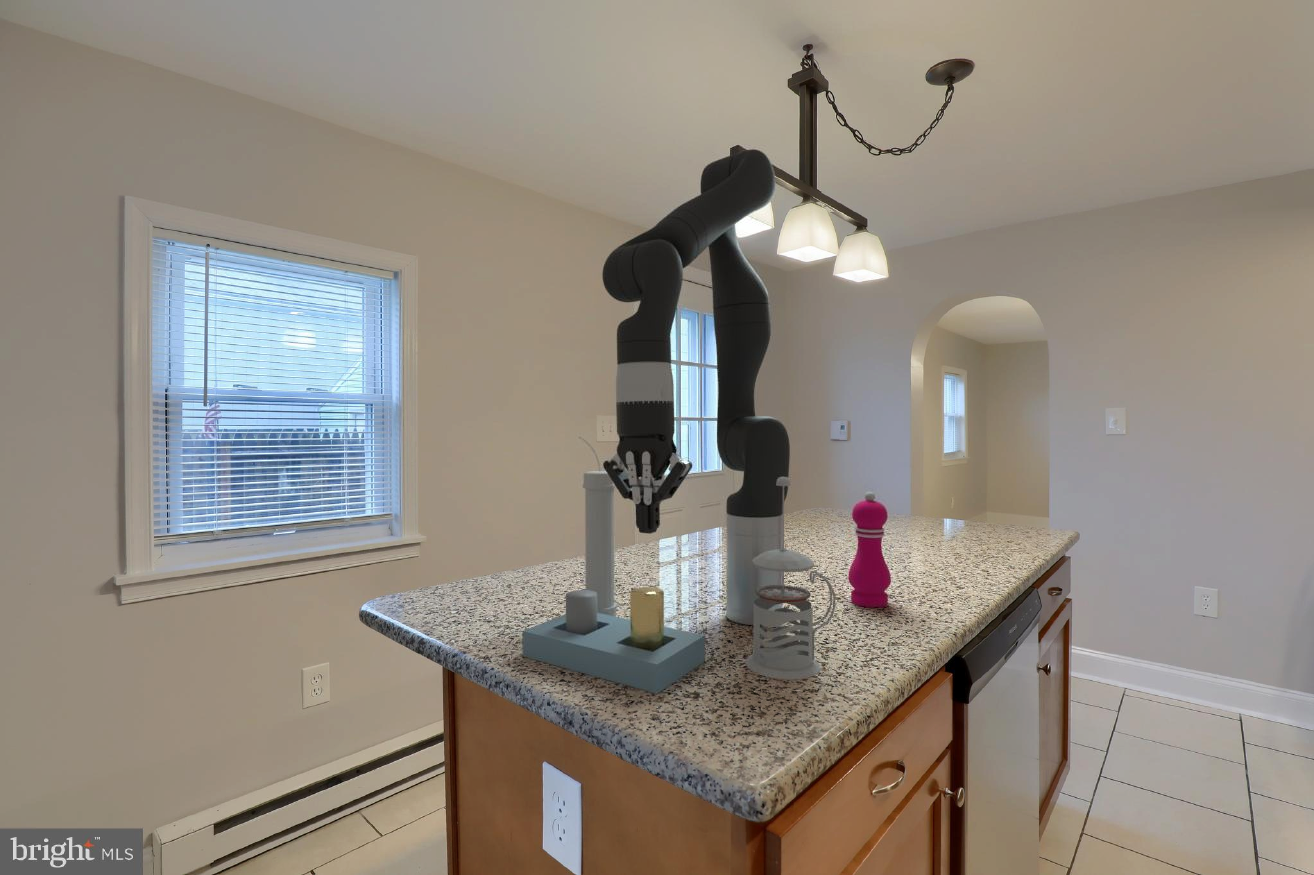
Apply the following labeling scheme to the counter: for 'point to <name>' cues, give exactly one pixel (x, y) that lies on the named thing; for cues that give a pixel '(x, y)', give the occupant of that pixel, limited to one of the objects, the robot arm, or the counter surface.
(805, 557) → the french press
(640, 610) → the gold cylinder
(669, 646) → the jig
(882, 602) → the pepper mill
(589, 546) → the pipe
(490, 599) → the counter surface
